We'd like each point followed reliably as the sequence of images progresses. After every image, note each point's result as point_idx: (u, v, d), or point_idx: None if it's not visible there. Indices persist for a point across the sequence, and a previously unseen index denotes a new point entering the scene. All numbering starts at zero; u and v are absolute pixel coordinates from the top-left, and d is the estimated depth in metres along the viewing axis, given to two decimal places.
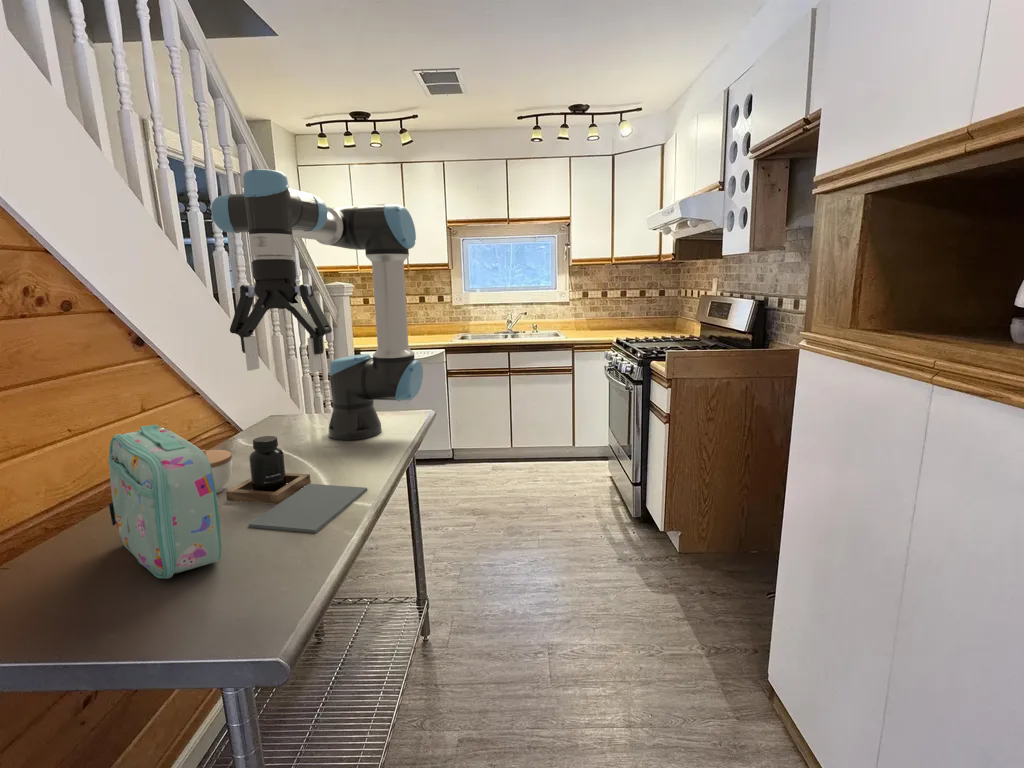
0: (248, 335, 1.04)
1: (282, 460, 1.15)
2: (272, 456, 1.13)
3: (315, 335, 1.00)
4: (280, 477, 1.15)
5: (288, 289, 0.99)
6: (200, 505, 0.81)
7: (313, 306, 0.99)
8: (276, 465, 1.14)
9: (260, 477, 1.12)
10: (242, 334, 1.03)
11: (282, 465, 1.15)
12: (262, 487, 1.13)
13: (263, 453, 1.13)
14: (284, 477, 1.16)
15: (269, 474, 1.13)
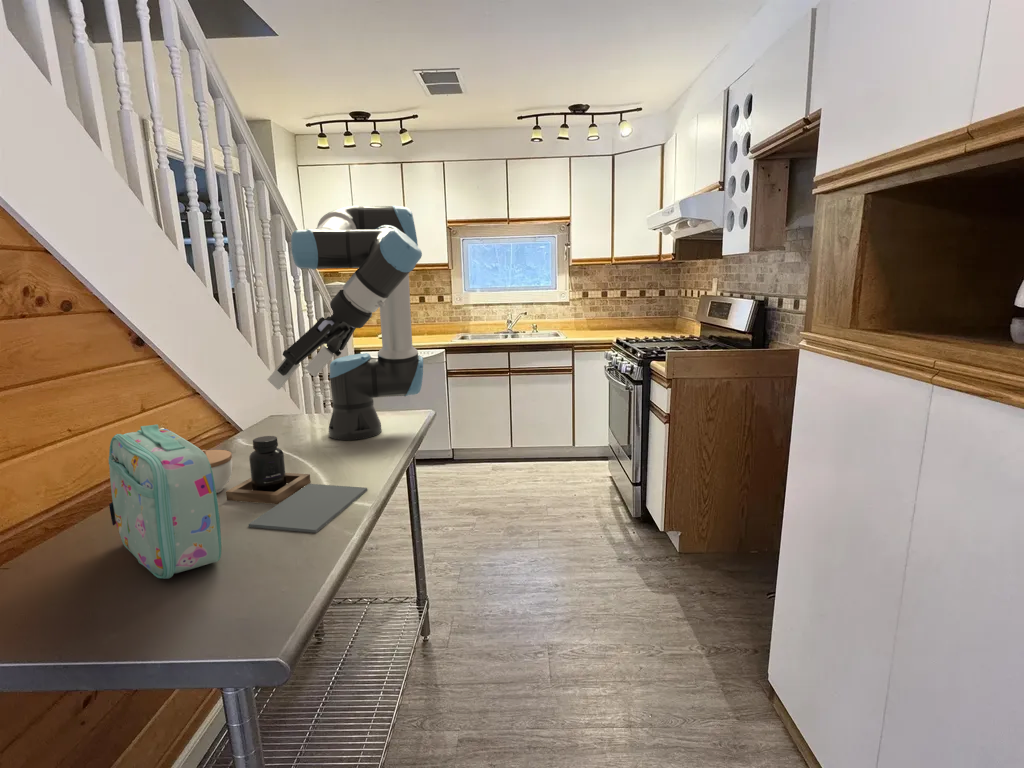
0: None
1: (282, 460, 1.15)
2: (272, 456, 1.13)
3: None
4: (280, 477, 1.15)
5: None
6: (200, 505, 0.81)
7: None
8: (276, 465, 1.14)
9: (260, 477, 1.12)
10: (298, 363, 0.98)
11: (282, 465, 1.15)
12: (262, 487, 1.13)
13: (263, 453, 1.13)
14: (284, 477, 1.16)
15: (269, 474, 1.13)
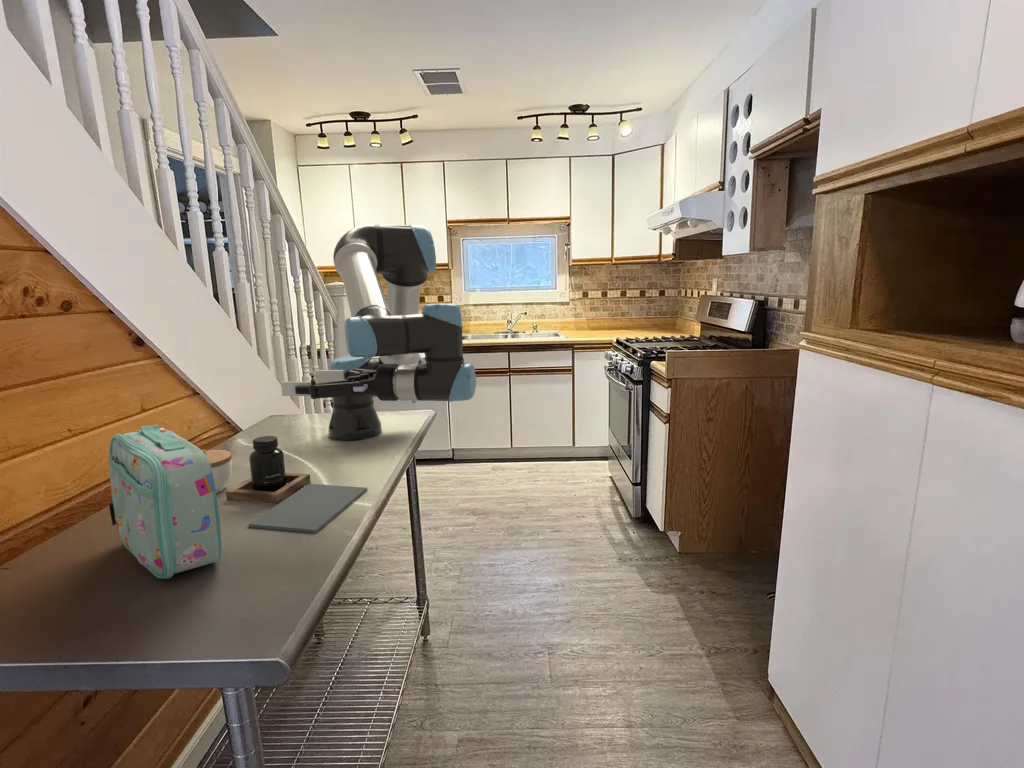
0: None
1: (282, 460, 1.15)
2: (272, 456, 1.13)
3: None
4: (280, 477, 1.15)
5: None
6: (200, 505, 0.81)
7: None
8: (276, 465, 1.14)
9: (260, 477, 1.12)
10: None
11: (282, 465, 1.15)
12: (262, 487, 1.13)
13: (263, 453, 1.13)
14: (284, 477, 1.16)
15: (269, 474, 1.13)
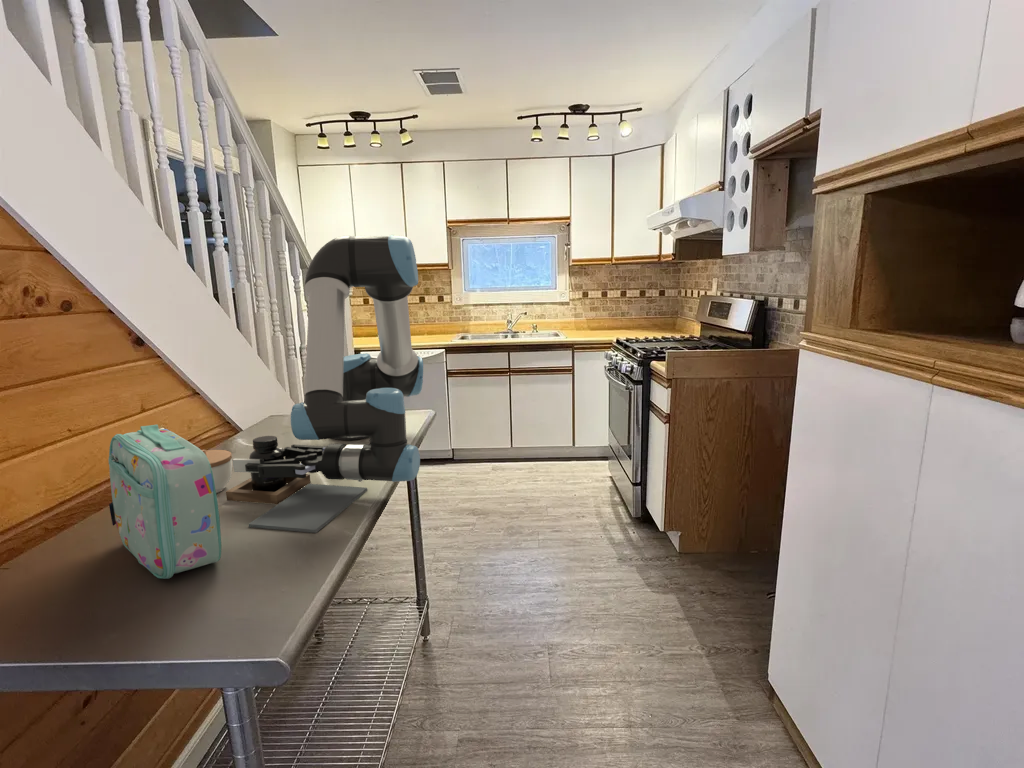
0: None
1: None
2: (272, 456, 1.13)
3: None
4: (280, 477, 1.15)
5: None
6: (200, 505, 0.81)
7: None
8: None
9: (259, 477, 1.12)
10: None
11: None
12: (262, 487, 1.13)
13: (263, 453, 1.13)
14: (284, 477, 1.16)
15: None
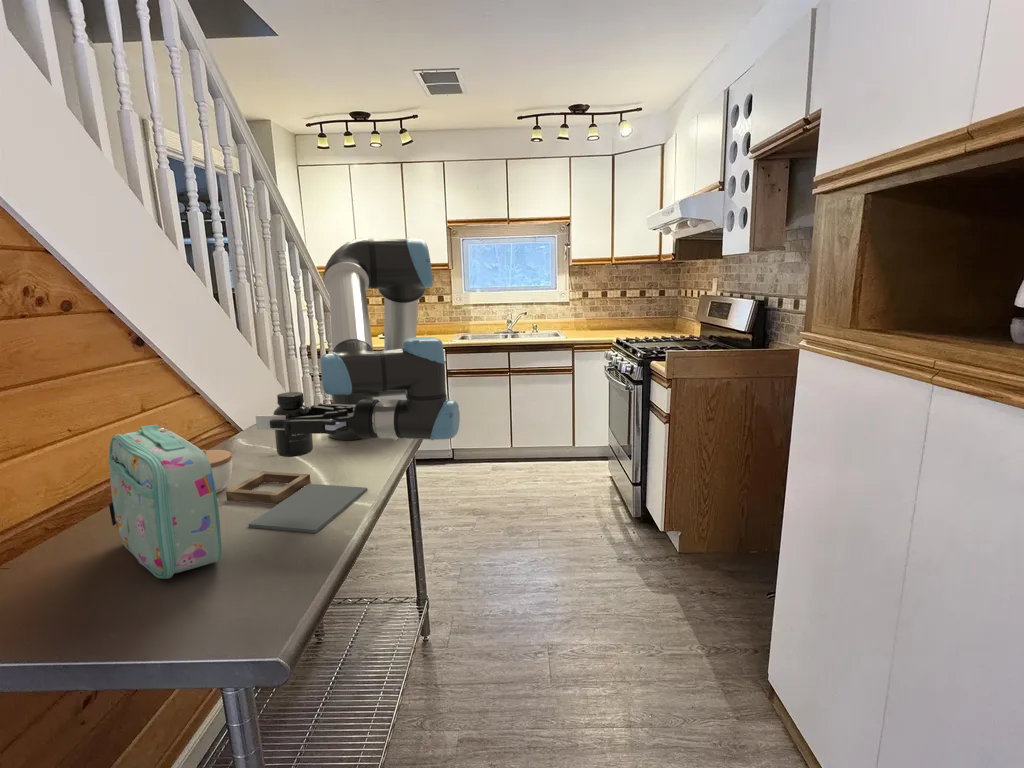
0: None
1: None
2: (298, 413, 1.03)
3: None
4: (307, 437, 1.05)
5: None
6: (199, 505, 0.81)
7: None
8: None
9: (285, 435, 1.03)
10: None
11: None
12: (287, 446, 1.03)
13: (289, 409, 1.03)
14: (311, 437, 1.07)
15: None
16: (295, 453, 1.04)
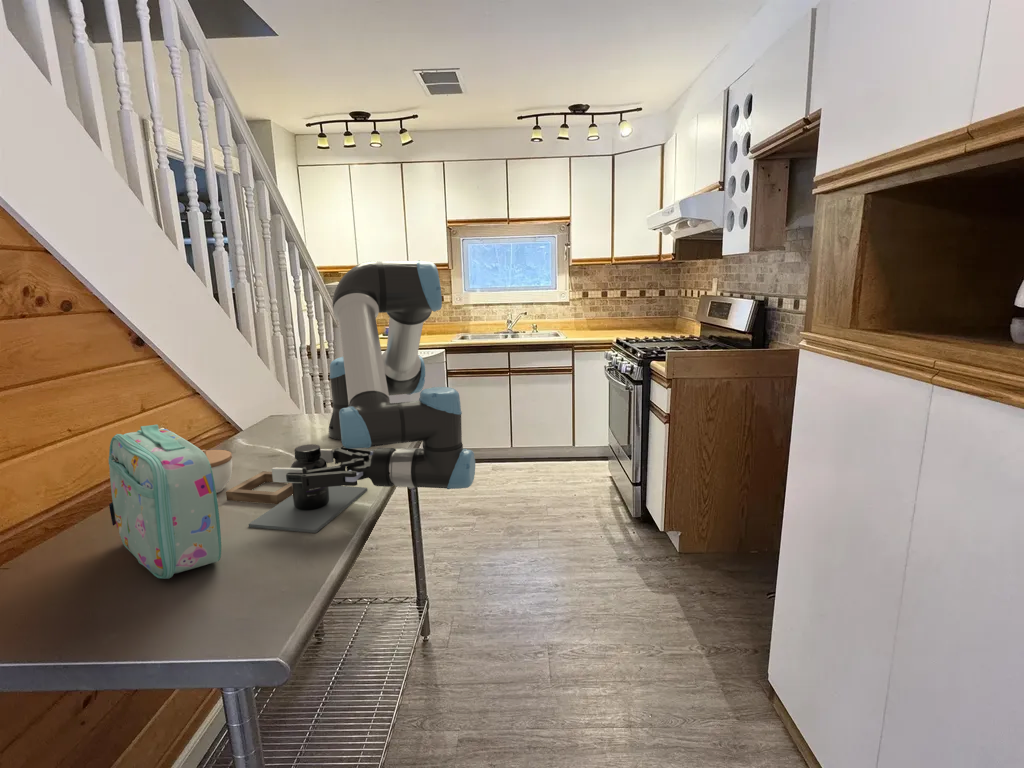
0: None
1: None
2: (316, 467, 1.04)
3: None
4: (324, 490, 1.06)
5: None
6: (200, 505, 0.81)
7: None
8: None
9: (302, 489, 1.04)
10: None
11: None
12: (305, 500, 1.04)
13: (306, 464, 1.04)
14: (327, 489, 1.07)
15: None
16: (312, 507, 1.05)
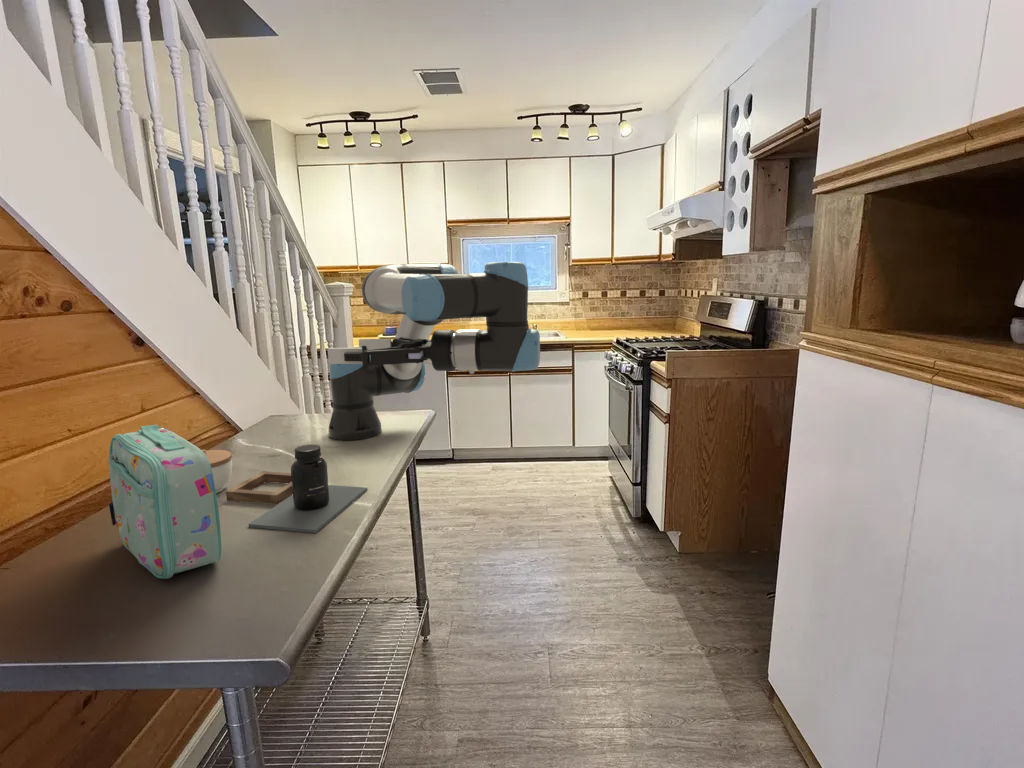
0: None
1: (326, 471, 1.07)
2: (316, 467, 1.04)
3: None
4: (324, 490, 1.06)
5: None
6: (200, 505, 0.81)
7: None
8: (320, 476, 1.05)
9: (302, 489, 1.04)
10: None
11: (326, 476, 1.07)
12: (305, 500, 1.04)
13: (306, 464, 1.04)
14: (327, 489, 1.08)
15: (312, 487, 1.04)
16: (312, 507, 1.05)
